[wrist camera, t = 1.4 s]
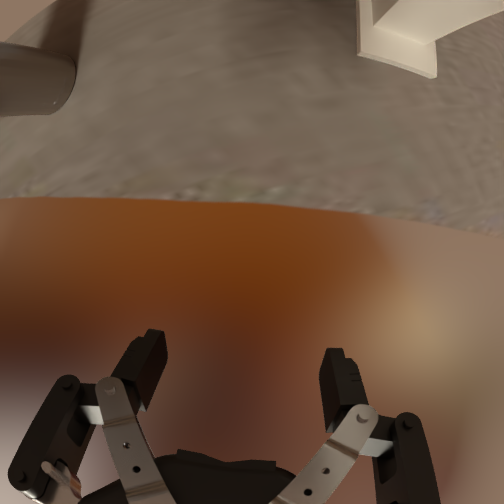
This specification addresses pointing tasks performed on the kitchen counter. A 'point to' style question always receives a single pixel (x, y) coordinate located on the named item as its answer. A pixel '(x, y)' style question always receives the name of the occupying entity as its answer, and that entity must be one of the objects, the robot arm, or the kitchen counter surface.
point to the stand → (414, 29)
